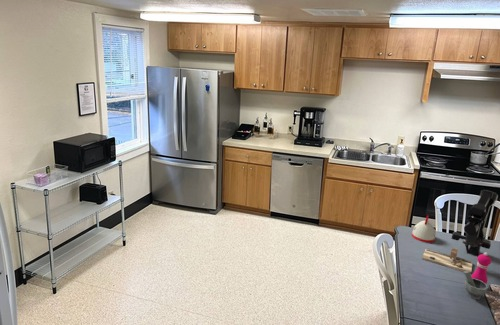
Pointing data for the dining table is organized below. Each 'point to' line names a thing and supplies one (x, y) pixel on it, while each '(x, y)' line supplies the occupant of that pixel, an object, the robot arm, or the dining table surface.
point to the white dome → (424, 231)
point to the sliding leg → (453, 254)
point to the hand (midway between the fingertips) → (467, 253)
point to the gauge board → (447, 260)
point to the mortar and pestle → (474, 286)
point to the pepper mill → (482, 267)
